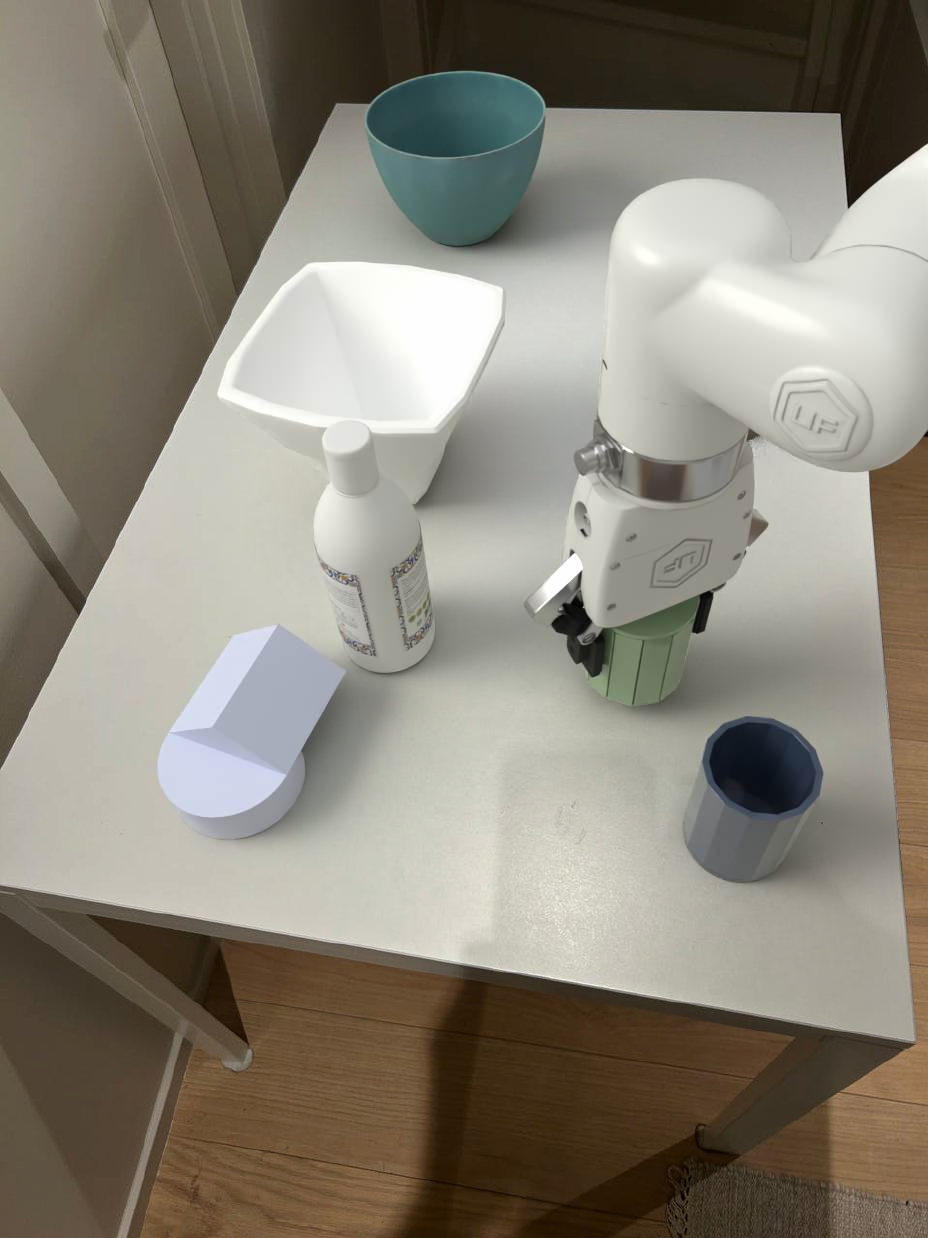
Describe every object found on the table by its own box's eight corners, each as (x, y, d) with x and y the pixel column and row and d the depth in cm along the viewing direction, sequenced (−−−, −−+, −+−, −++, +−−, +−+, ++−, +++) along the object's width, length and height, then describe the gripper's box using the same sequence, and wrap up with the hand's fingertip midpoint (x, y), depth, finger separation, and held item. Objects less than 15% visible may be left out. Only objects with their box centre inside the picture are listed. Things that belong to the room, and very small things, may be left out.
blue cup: (794, 804, 60) (830, 734, 52) (777, 898, 56) (812, 837, 49) (695, 774, 61) (716, 702, 54) (672, 864, 58) (691, 800, 50)
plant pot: (538, 177, 108) (538, 63, 98) (551, 266, 97) (553, 148, 87) (382, 188, 108) (367, 76, 99) (378, 279, 97) (360, 163, 88)
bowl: (525, 416, 83) (523, 278, 72) (459, 579, 72) (444, 446, 61) (333, 385, 87) (303, 249, 76) (244, 534, 77) (194, 402, 66)
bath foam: (429, 594, 72) (399, 387, 56) (442, 667, 68) (413, 467, 52) (340, 608, 71) (283, 405, 55) (347, 683, 67) (289, 487, 51)
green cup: (692, 638, 65) (710, 565, 59) (669, 717, 62) (685, 648, 55) (598, 613, 67) (605, 540, 61) (570, 689, 63) (575, 619, 57)
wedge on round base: (245, 661, 69) (147, 812, 62) (221, 606, 64) (110, 765, 57) (353, 696, 67) (263, 858, 60) (337, 642, 61) (236, 813, 54)
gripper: (550, 545, 44) (545, 733, 58) (856, 428, 47) (780, 632, 61) (484, 447, 48) (494, 644, 62) (769, 346, 51) (717, 555, 66)
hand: (637, 637), depth 62 cm, fingers closed on green cup, 7 cm apart
